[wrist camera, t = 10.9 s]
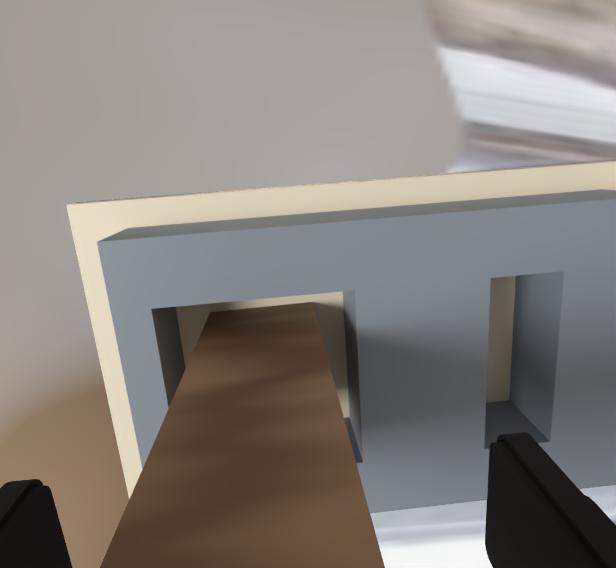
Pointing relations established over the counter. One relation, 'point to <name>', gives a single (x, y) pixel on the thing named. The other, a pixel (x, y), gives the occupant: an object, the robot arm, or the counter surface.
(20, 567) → the robot arm
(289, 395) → the block
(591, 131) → the counter surface
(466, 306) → the bore block
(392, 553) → the counter surface
